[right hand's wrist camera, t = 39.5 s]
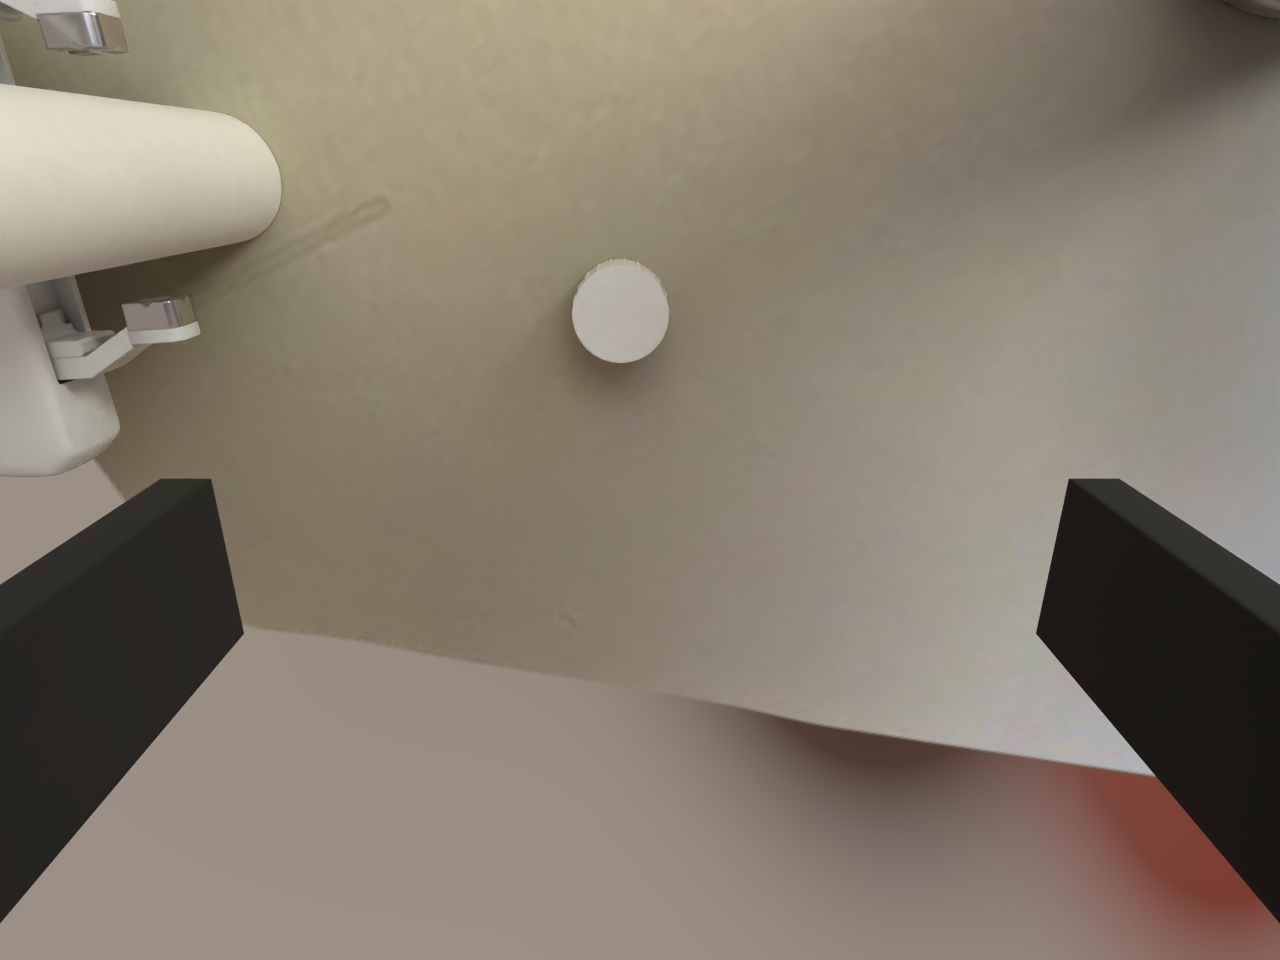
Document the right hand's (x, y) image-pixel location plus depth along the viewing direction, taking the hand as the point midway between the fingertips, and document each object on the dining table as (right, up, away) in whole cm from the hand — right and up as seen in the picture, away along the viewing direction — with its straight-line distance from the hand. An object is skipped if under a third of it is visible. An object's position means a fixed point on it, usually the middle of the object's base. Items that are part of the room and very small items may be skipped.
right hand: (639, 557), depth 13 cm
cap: (-1, +9, +24) cm, 25 cm away
